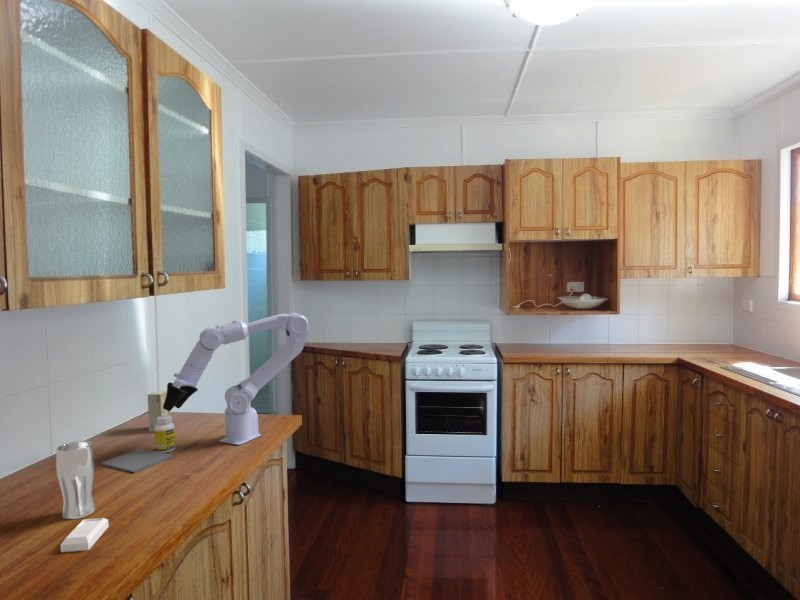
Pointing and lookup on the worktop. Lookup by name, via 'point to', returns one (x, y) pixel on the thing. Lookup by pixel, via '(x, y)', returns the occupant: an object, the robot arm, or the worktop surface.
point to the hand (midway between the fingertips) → (171, 408)
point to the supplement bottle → (164, 434)
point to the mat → (137, 460)
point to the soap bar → (84, 535)
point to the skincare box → (156, 407)
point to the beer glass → (76, 478)
